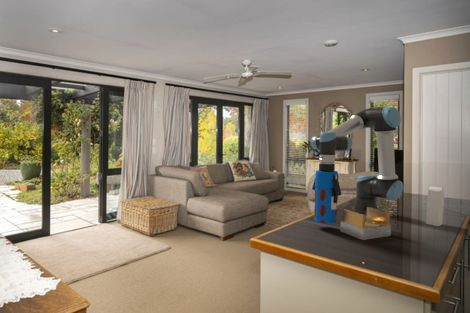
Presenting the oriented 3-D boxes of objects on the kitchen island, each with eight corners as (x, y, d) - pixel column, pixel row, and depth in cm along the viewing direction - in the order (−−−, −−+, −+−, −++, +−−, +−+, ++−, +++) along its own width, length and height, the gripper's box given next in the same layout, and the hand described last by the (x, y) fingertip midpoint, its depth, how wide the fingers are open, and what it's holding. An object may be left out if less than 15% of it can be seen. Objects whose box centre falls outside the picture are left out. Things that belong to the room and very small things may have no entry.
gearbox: (340, 231, 153) (341, 209, 152) (366, 227, 161) (367, 206, 160) (362, 240, 140) (364, 215, 140) (390, 235, 148) (392, 212, 147)
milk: (437, 226, 167) (440, 185, 166) (425, 223, 172) (428, 184, 170) (442, 224, 171) (445, 184, 169) (430, 222, 176) (432, 183, 174)
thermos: (333, 224, 150) (334, 173, 148) (311, 221, 156) (312, 171, 154) (338, 219, 159) (340, 170, 158) (317, 216, 165) (319, 169, 163)
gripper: (306, 161, 164) (304, 202, 166) (338, 165, 143) (336, 212, 145) (317, 161, 168) (316, 201, 169) (350, 165, 147) (348, 211, 148)
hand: (325, 206), depth 157 cm, fingers closed on thermos, 11 cm apart
